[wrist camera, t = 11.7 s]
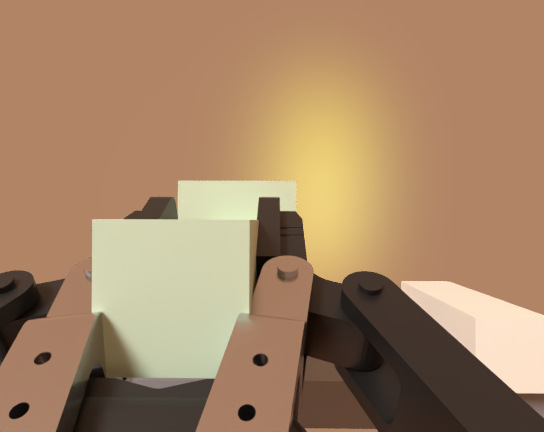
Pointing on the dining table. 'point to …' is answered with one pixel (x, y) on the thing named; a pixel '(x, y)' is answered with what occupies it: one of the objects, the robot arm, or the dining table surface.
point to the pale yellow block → (179, 279)
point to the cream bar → (488, 330)
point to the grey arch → (327, 398)
